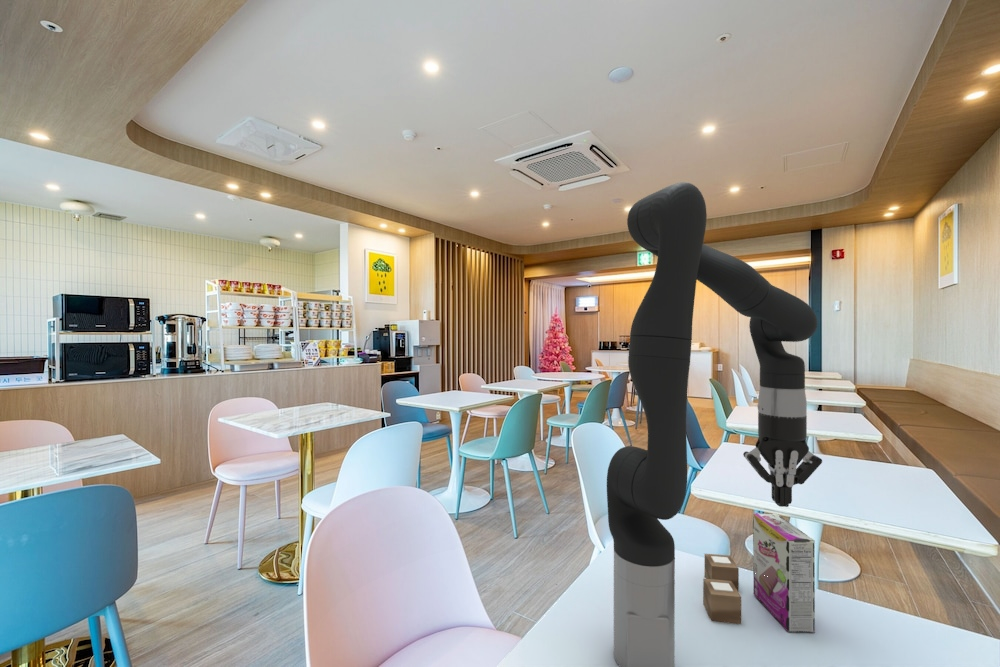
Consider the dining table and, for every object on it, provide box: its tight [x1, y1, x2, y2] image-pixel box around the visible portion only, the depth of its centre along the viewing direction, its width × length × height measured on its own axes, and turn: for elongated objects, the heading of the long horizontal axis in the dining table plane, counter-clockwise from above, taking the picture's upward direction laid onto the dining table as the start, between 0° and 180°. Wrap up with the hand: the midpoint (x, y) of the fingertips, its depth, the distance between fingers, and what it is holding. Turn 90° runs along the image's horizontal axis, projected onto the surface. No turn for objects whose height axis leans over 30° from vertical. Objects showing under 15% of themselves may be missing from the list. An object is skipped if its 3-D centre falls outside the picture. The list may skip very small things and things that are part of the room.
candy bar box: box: [752, 512, 816, 634], centre depth 81 cm, size 11×5×16 cm, turn 179°
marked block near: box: [702, 578, 742, 625], centre depth 81 cm, size 5×5×5 cm
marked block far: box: [704, 553, 740, 593], centre depth 90 cm, size 5×5×5 cm
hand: (781, 505), depth 81 cm, fingers closed
